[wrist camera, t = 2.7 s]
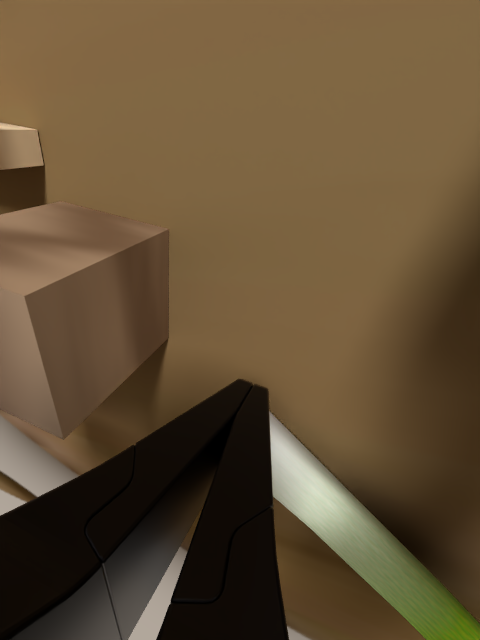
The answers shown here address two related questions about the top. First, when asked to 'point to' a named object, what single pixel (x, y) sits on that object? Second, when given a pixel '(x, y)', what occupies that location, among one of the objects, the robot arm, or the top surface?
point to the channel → (19, 147)
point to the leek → (364, 541)
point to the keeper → (76, 309)
